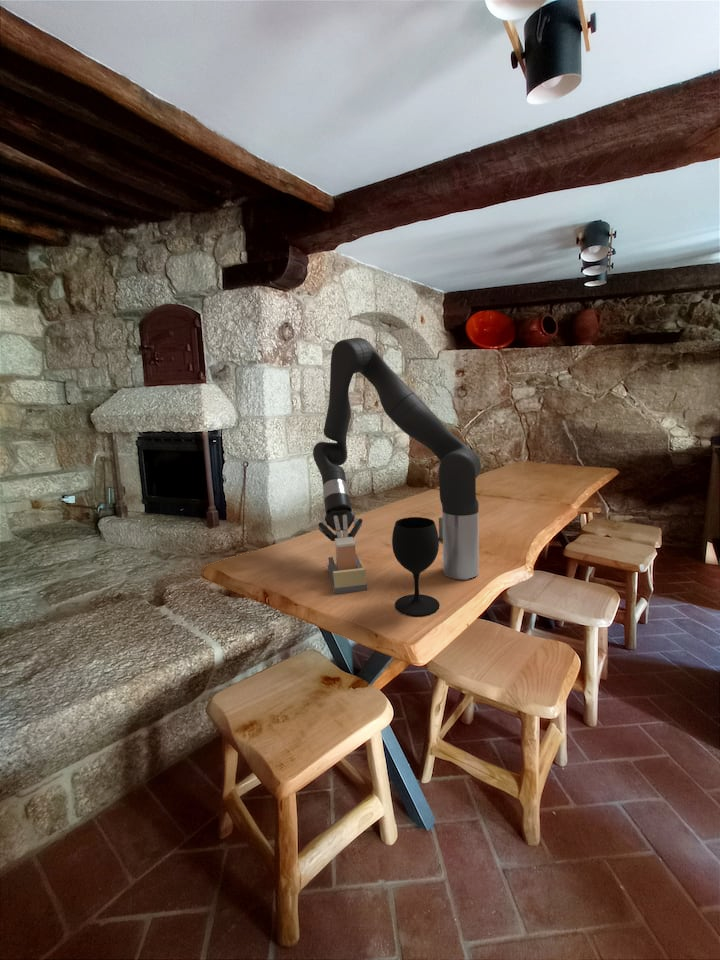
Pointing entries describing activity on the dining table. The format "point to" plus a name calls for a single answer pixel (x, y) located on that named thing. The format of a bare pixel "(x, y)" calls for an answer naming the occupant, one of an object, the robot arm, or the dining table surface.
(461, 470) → the robot arm
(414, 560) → the wine glass
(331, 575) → the key track
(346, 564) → the block
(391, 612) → the dining table surface
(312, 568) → the dining table surface
